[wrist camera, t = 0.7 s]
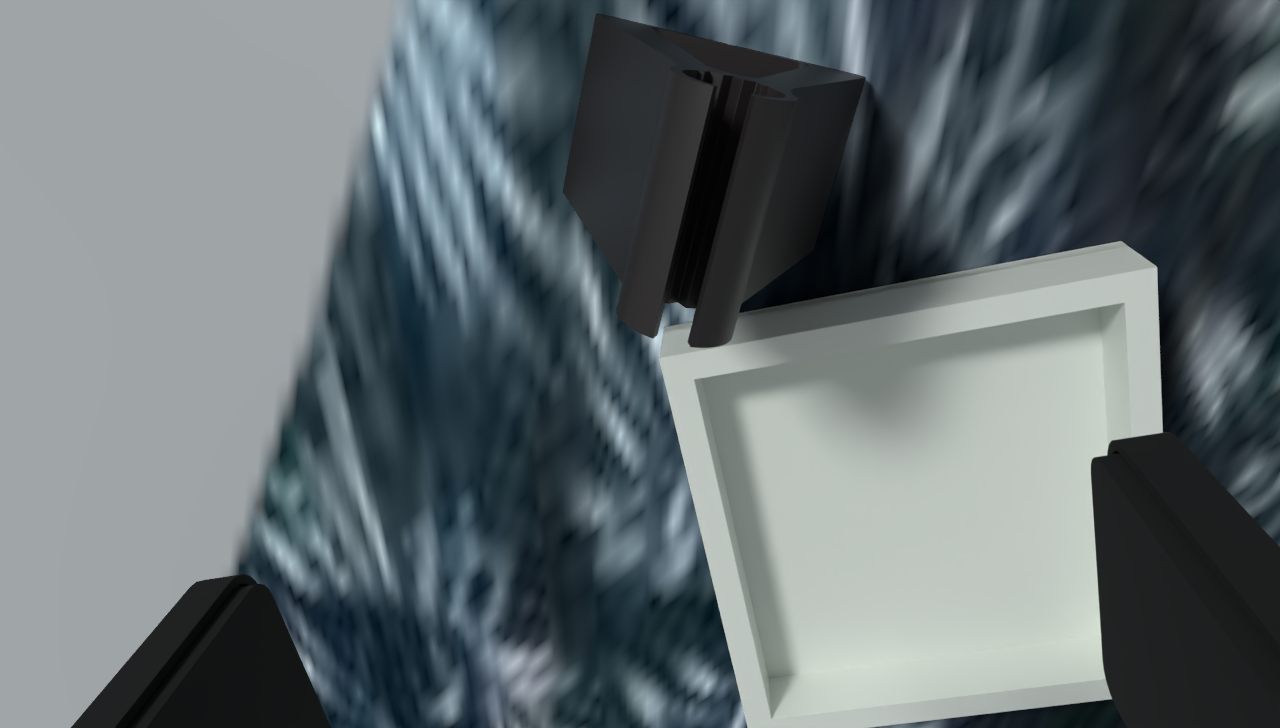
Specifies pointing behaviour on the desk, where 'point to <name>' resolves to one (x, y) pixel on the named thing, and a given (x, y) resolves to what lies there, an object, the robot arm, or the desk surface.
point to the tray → (917, 485)
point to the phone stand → (702, 168)
